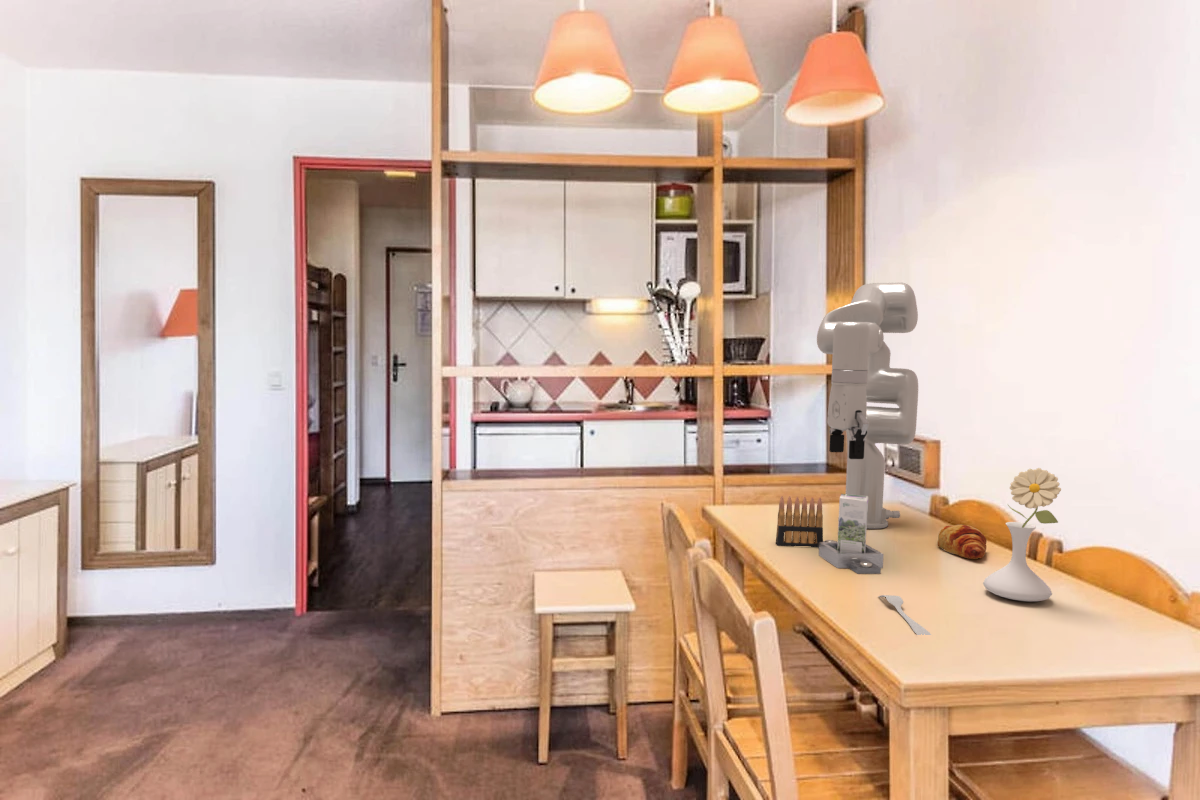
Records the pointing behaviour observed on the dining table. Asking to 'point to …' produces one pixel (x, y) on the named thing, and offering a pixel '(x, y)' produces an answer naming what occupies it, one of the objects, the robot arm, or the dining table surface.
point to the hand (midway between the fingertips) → (846, 455)
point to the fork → (897, 603)
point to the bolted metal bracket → (852, 558)
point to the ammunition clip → (799, 524)
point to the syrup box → (852, 523)
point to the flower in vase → (1025, 538)
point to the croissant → (962, 541)
